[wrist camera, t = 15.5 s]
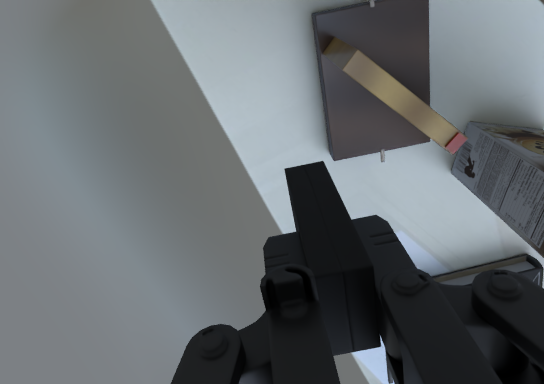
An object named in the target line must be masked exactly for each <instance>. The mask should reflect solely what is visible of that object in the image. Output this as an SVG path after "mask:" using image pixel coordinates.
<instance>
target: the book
mask: <svg viewBox="0 0 544 384" xmlns="http://www.w3.org/2000/svg"><path fill="white" fill-rule="evenodd" d="M492 269H499V270H508V271H512V272H516V273H519V274H521V275H523V276H525V277H527V278H529V279H530V280H531V281H533V282H534V283H536V284H537V285H539V286H540V287H542V282H543V267H542V265H541V263H540V262H539V261H538V260H537V259H535V258H534V257H532V256H530V255H528V254H526V255H522V256H518V257H514V258H509V259H505V260H501V261H497V262H493V263H489V264H485V265H481V266H477V267H473V268H469V269H465V270H461V271H456V272H452V273H448V274H444V275H440V276H436V277H432V278H433V279H434V280H435V281H436V282H438V283H442V284H448V285H465V286H472V282H473V280H474V278H475V276H477V275H478V274H480V273H481V272H483V271H488V270H492Z"/></svg>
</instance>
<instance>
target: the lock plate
mask: <svg viewBox="0 0 544 384" xmlns="http://www.w3.org/2000/svg"><path fill="white" fill-rule="evenodd" d="M312 21H313V29H314V37H315V44H316V52H317V59H318V67H319V74H320V82H321V90H322V97H323V105H324V112H325V120H326V127H327V135H328V143H329V150H330V155H331V157H332V159H333V160H334V161H337V160H342V159H347V158H352V157H357V156H362V155H367V154H372V153H377V152H380V153H381V162H385V155H384V151H386V150H391V149H396V148H401V147H406V146H411V145H416V144H421V143H426V142H430V137H428V136H427V135H426V134H424V133H423V132H422V131H420V130H419V129H418V128H417V127H415V126H414V125H413V124H411V123H410V122H409V121H407V120H406V119H405V118H404V117H402V116H401V115H400V114H398V113H397V112H396V111H394V110H393V109H392V108H391V107H389V106H388V105H387V104H385V103H384V102H383V101H381V100H380V99H379V98H378V97H376V96H375V95H374V94H372V93H371V92H370V91H368V90H367V89H366V88H364V87H363V86H362V85H361V84H359V83H358V82H357V81H355V80H354V79H353V78H351V77H350V76H349V75H348V74H346V73H345V72H344V71H342V70H341V69H340V68H339V67H338V66H336V65H335V64H334V63H333V62H332V61H330V60H329V59H328V58H327V57H326V56H324V55H323V52H324V51H325V49H326V48H327V47H328V45H329V44H330V42H331V41H332V40H333V38H334V37H336V38H338V39H340V40H342V41H344V42H346V43H347V44H349V45H351V46H353V47H355V48H357V49H358V50H360V51H361V52H362V53H363V54H365V55H366V56H367V57H368V58H370V59H371V60H372V61H373V62H375V63H376V64H377V65H378V66H380V67H381V68H382V69H383V70H385V71H386V72H387V73H388V74H390V75H391V76H392V77H393V78H395V79H396V80H397V81H398V82H400V83H401V84H402V85H403V86H405V87H406V88H407V89H408V90H410V91H411V92H412V93H413V94H415V95H416V96H417V97H418V98H420V99H421V100H422V101H423V102H425V103H426V104H427V105H428V106H430V73H429V0H375V1H374V0H370V2H365V3H360V4H355V5H351V6H346V7H341V8H336V9H331V10H327V11H322V12H317V13H312Z"/></svg>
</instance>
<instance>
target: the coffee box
mask: <svg viewBox="0 0 544 384" xmlns="http://www.w3.org/2000/svg"><path fill="white" fill-rule="evenodd" d="M464 135H466V136H467V137H468V139H467V140H466V142H465V143H464V144H463V145H462V146H461V147H460V148H459V151H458V153H457V156H456V159H455V162H454V165H453V168H452V170H451V173H452V174H453V175H454V176H455V177H456V178H457V179H458V180H459V181H460V182H461V183H463V184H464V185H465V186H466V187H467V188H468V189H469V190H470V191H471V192H472V193H474V195H476V196H477V197H478V198H479V199H480V200H481V201H482V202H483V203H484V204H485V205H487V206H488V207H489V208H490V209H491V210H492V211H493V212H494V213H495V214H496V215H497V216H499V217H500V218H501V219H502V220H503V221H504V222H505V223H506V224H507V225H508V226H509V227H510V228H512V229H513V230H514V231H515V232H516V233H517V234H518V235H519V236H520V237H521V238H522V239H524V240H525V241H526V242H527V243H528V244H529V245H530V246H531V247H532V248H533V249H535V250H536V251H537V252H538V253H539V254H540V255H541V256H542V257H544V130H539V129H530V128H521V127H512V126H504V125H495V124H487V123H478V122H469V123H468V125H467V128H466V131H465V134H464Z"/></svg>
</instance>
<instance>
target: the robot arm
mask: <svg viewBox="0 0 544 384" xmlns="http://www.w3.org/2000/svg"><path fill="white" fill-rule="evenodd" d="M285 174H286V180H287V185H288V190H289V195H290V201H291V206H292V211H293V217H294V222H295V227H296V232H293V233H288V234H282V235H278V236H272V237H269V238H268V239H267V241H266V243H265V245H264V247H263V250H264V261H265V272H266V274H265V276H264V277H263V278H262V279H261V284H260V288H261V292H262V297H263V300H264V304H265V308H266V311H265V313H264V314H263V315H262V316H261V317H260V318H259V319H258V320H257V321H256V322H254V323H253V324H251V325H249V326H247V327H245V328H243V329H241V330H239V331H237V330H236V329H235V328H233V327H232V326H230V325H224V324H218V325H212V326H209V327H207V328H205V329H202V330H201V331H199V332H198V333H197V334H196V335H195V336H193V337H192V339H191V340H190V342H189V343H188V345H187V346H186V349H185V351H184V354H183V356H182V358H181V361H180V363H179V365H178V368H177V370H176V373H175V375H174V377H173V380H172V382H171V384H340V381H339V377H338V373H337V369H336V365H335V361H334V357H333V356H335V355H340V354H345V353H351V352H356V351H361V350H366V349H371V348H377V347H381V342H380V336H381V338H382V341H383V343H384V346H385V350H386V361H387V373H388V381H389V384H390V383H393V380H394V383H395V384H544V289H543V288H542V287H540V286H539V285H537V284H536V283H534V282H533V281H531V280H530V279H529V278H527V277H525V276H523V275H521V274H519V273H516V272H512V271H508V270H499V269H492V270H488V271H483V272H481V273H480V274H478V275H477V276H475V278H474V280H473V282H472V286H465V285H448V284H442V283H438V282H436V281H435V280H434V279H433V278H432V277H431V276H430V275H429V274H428V273H426V272H424V271H422V270H420V269H417V268H416V266H415V264H414V263H413V261H412V260H411V258H410V257H409V255H408V253H407V252H406V250H405V249H404V247H403V245H402V244H401V242H400V241H399V239H398V237H397V236H396V234H395V233H394V231H393V229H392V228H391V226H390V225H389V223H388V222H387V221H386V220H384V219H382V218H381V217H379V216H377V215H373V216H368V217H363V218H358V219H352V220H351V218H350V216H349V214H348V212H347V210H346V207H345V205H344V203H343V201H342V199H341V197H340V195H339V193H338V191H337V189H336V187H335V185H334V182H333V180H332V178H331V176H330V174H329V172H328V170H327V168H326V166H325V164H324V162H323V161H321V162H316V163H311V164H306V165H301V166H296V167H291V168H286V169H285Z"/></svg>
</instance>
